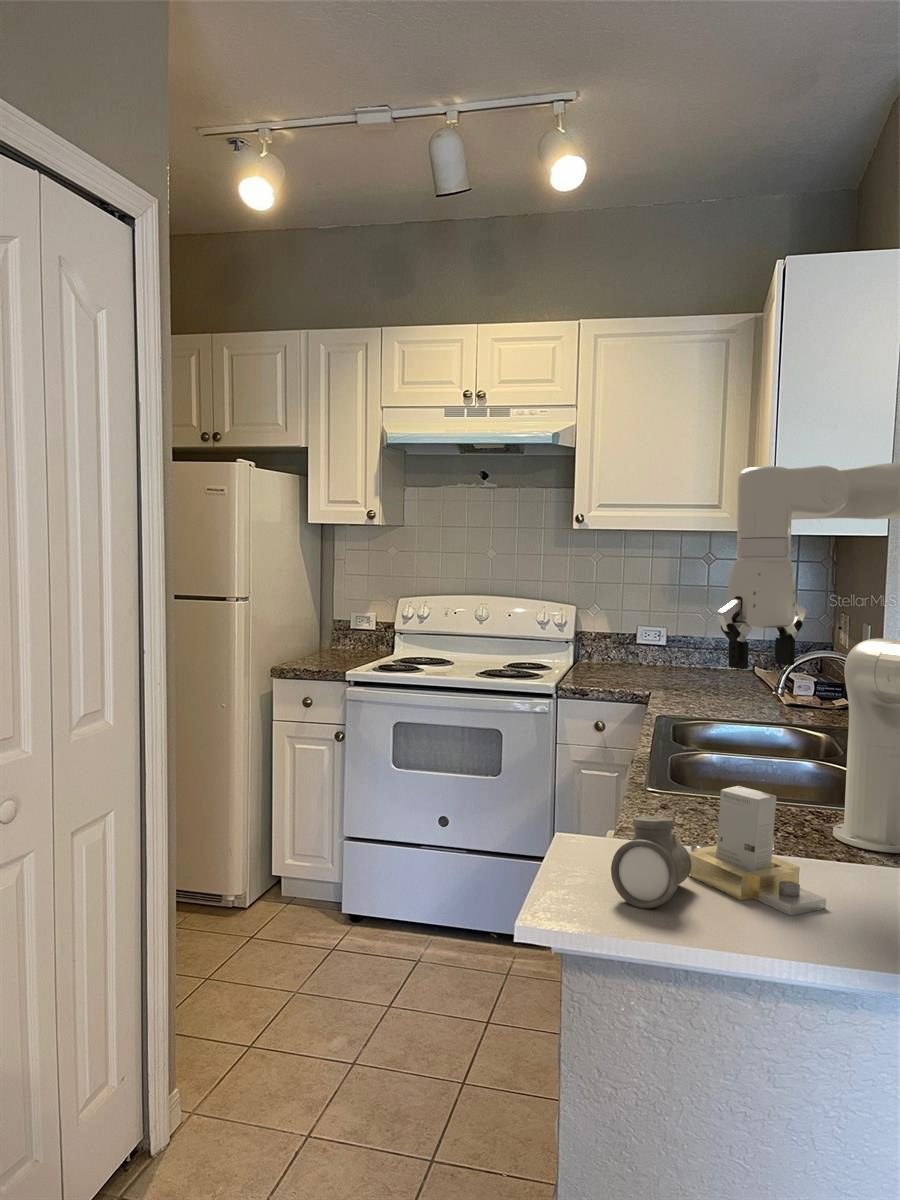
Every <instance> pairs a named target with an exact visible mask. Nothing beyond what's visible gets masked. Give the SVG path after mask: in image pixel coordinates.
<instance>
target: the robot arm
mask: <svg viewBox="0 0 900 1200" xmlns="http://www.w3.org/2000/svg"><path fill="white" fill-rule="evenodd" d="M736 517H737V518H736V519H737V520H736V521H737V522H736V523H737V524H736V525H737V527H736V528H737V529H736V530H737V533H736V539H737V540H736V560H733V561H732V564H731V569H730V573H729V579H728V586H727V595H726V597H727V598H726V605H724V606H723V607H722V608H720V609H719V610H717V612H716V616H717V619H718V621H719V625H720V629H721V632H722V633H723V634H724V635H725V636H724V638H725V640H726V641H728V667H729V668H730V669H736V670H737V669H738V670H747V669H748V668H749V642H748V641H745V640H746V639H747V638H748V635H749V634H750V632H751V631H752V629H771V628H772V629H773V628H774V631H775V632H776V633H777V636H778V637H775V640H774V641H775V642H774V644H775V646H774V649H775V650H774V662H775V664H776V665H782V666H788V667H789V666H790V667H792V666H795V663H796V640H797V639H798V638H799V632H800V630H801V629H802V627H803V622H804V619H805V617H806V613H807V610H806V608H805V607H803V605H800V604H799V603H798V602H797V601H796V585H795V584H796V583H795V572H794V567H793V562H792V560H791V559H792V558H791V555H792V553H791V552H792V520H818V519H819V520H825V519H855V520H858V519H859V520H886V519H887V520H890V519H896V520H897V519H900V462H890V463H879V464H872V465H867V466H861V467H856V468H849V469H842V470H841V469H840V470H839V469H838V468H836V467H834V466H830V465H814V466H808V467H807V466H806V467H797V468H796V467H793V468H787V467H783V466H776V465H774V466H773V465H771V466H770V465H767V466H766V465H765V466H763V465H762V466H753V467H748V468H744V469H743V470H741V472H740V473H739V474H738V478H737V516H736ZM898 629H899V630H898V635H899V638H900V628H898ZM843 671H844V672H843V673H844V682H845V689H846V694H847V702H848V704H847V705H848V733H847V734H848V736H847V737H848V738H847V752H846V753H847V755H846V776H845V794H844V795H845V796H844V816H843V817H844V819H843V823H839V824H836V825H834V826H833V828H832V835H833V837H834V838H835V839H836V840H838V841H839V842H842V843H844V844H847V845H850V846H852V847H856V848H860V849H863V850H868V851H869V850H870V851H874V852H881V853H887V854H888V853H892V854H900V639H893V638H883V637H882V638H877V637H876V638H869V639H867V640H866V639H865V640H862V641H860V642H859V643H857V644H856V645H855V646H853V648H852V649H850V651H849V652H848V654H847V656H846V659H845V662H844V670H843Z"/></svg>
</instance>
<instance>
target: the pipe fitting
mask: <svg viewBox="0 0 900 1200" xmlns="http://www.w3.org/2000/svg"><path fill="white" fill-rule="evenodd" d="M674 823H675V822H674V819H673V818H672V817H671V818H670V817H667V816H666V817H665V816H653V815H652V816H651V815H650V816H646V815H644V816H643V815H641V816H635V817H634V816H633V818H632V827H634V829H633V831H634V837H633V840H630V841H628V842H626V843H624V844H622V845H621V846H620V847H619V848H618V849H617V850H616V852H615V853H614V855H613V858H612V861H611V864H610V865H611V867H610V872H611V873H610V875H611V880H612V883H613V886H614V888H615V890H616V891H617V894H619V896H620V897H621V898H622V899H623V900H624V901H625V902H626V903H628V904H630V905H631V906H633V907H636V908H639V909H654V908H658V907H659V906H662V905H664V904H665V903H667V902H668V901H669V900H671V898H672V897H673V896H674V894H675V893H676V891H677V889H678V887H679V885H680V884H682V883H683V882H685V881H686V879H687V878H688V877H690V876H689V874H690V871H691V865H692V864H691V858H690V855H689V853H688V851H687V850H686V847H685V846H684V845H682V844H681V842H678V841H677V836H676V834H675V832H673V830H672V829H674V825H675V824H674Z"/></svg>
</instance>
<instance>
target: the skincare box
mask: <svg viewBox="0 0 900 1200" xmlns="http://www.w3.org/2000/svg"><path fill="white" fill-rule="evenodd" d="M776 805H777V796H776V795H774V794H770V793H766V792H763V791H760V790H757V789H752V788H748V787H744V786H741V785H736V786H732V787H731V786H730V787H727V788H723V789H721V790H720V797H719V809H718V824H717V826H718V827H717V837H716V846H717V850H716V859H719V860H721V861H723V862H726V863H728V864H730V865H733V866H735V867H737V868H740V869H742V870H744V871H747V872H752V871H758V870H764V869H770V868H771V861H772V856H773V845H774V833H775V820H776V809H777V806H776Z"/></svg>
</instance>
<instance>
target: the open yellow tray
mask: <svg viewBox="0 0 900 1200" xmlns="http://www.w3.org/2000/svg"><path fill="white" fill-rule="evenodd" d="M685 849H686V850H687V851H688V853H689V855H690V858H691V864H692V865H691V871H690V874H689V876H688V877H691V876H692V877H691V878H693V879H695V880H697V881H699V882H701V881H702V882H701V883H703V882H704V883H703V884H705V883H706V884H705V885H707V884H709V885H708V886H710V887H712V886H713V887H712V888H714V887H715V888H714V889H716V888H717V889H716V890H718V889H719V890H718V891H720V890H721V891H720V892H722V891H724V892H726V893H727V894H726V893H725V894H726V895H729V896H731V897H733V898H735V899H737V900H740V901H744V900H745V901H746V900H750V899H751V900H752V899H753V900H756V901H759V902H761V903H762V904H765V905H766V906H769V907H771V908H773V909H775V910H778V911H780V912H782V913H785V914H786V915H788V916H795V915H799V914H804V913H809V912H815V911H819V910H818V909H820V910H824V909H823V908H827V898H825V897H823V896H820V895H818V894H815V893H813V892H812V891H811V892H810V891H808V890H806V889H803V888H801V884H800V866H798V865H796V864H792V863H790V862H788V861H785V860H784V859H781V858H778V857H775V856H773V855H772V861H771V868H770V869H764V870H758V871H752V872H747V871H744V870H742V869H740V868H737V867H735V866H733V865H730V864H728V863H726V862H723V861H721V860H719V859H716V850H717V845H712V846H709V845H707V844H702V843H693V844H691V847H688V848H686V847H685ZM724 892H723V893H724ZM814 910H815V911H814Z"/></svg>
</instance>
